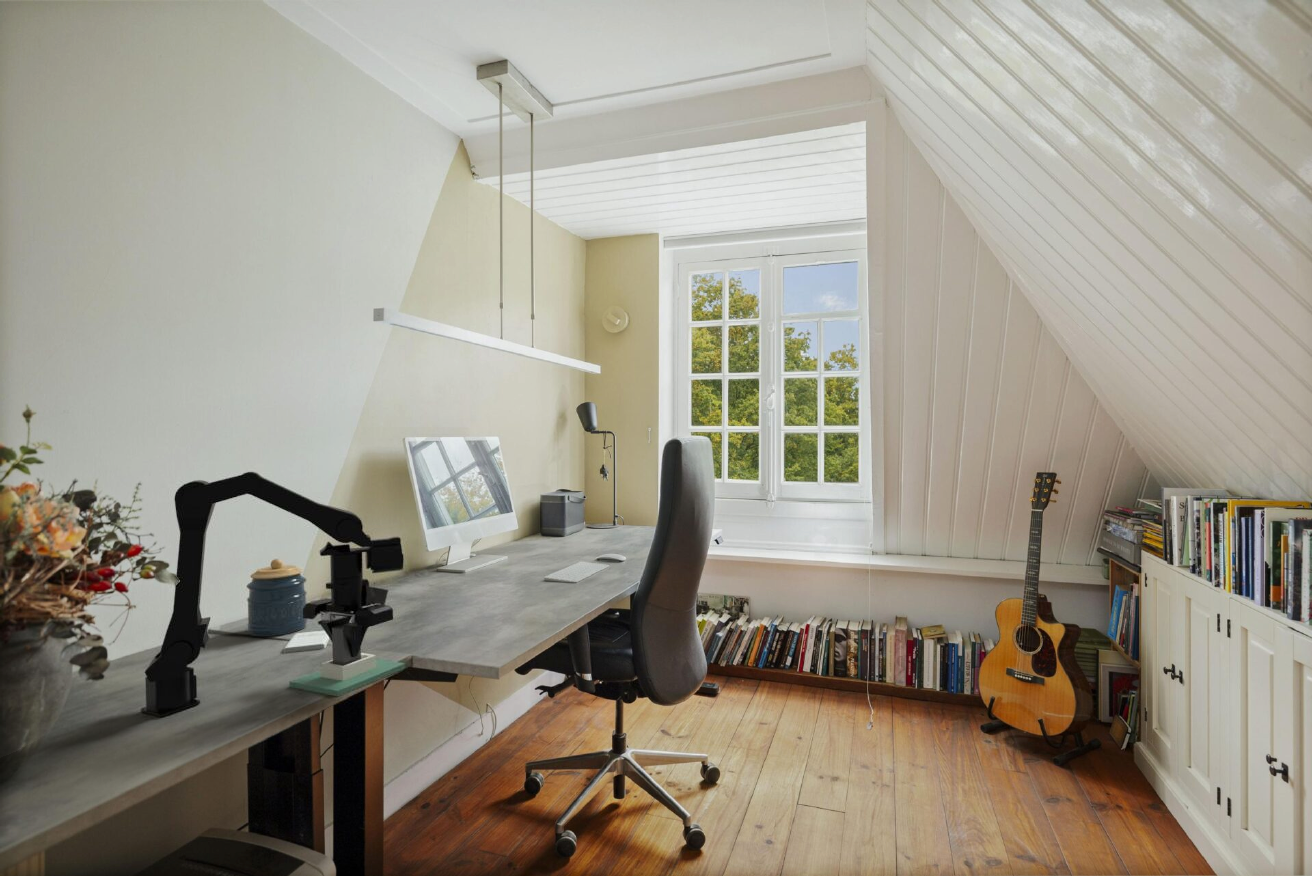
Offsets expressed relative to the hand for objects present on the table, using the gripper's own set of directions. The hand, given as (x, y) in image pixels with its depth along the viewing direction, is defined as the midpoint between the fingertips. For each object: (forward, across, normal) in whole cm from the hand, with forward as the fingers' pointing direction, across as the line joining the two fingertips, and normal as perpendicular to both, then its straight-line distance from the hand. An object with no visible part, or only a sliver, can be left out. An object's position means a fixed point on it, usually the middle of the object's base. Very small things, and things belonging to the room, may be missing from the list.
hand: (348, 655), depth 132 cm
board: (+4, 0, 0) cm, 4 cm away
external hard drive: (+5, +28, -13) cm, 32 cm away
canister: (+4, +46, -18) cm, 50 cm away
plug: (+3, 0, 0) cm, 3 cm away
